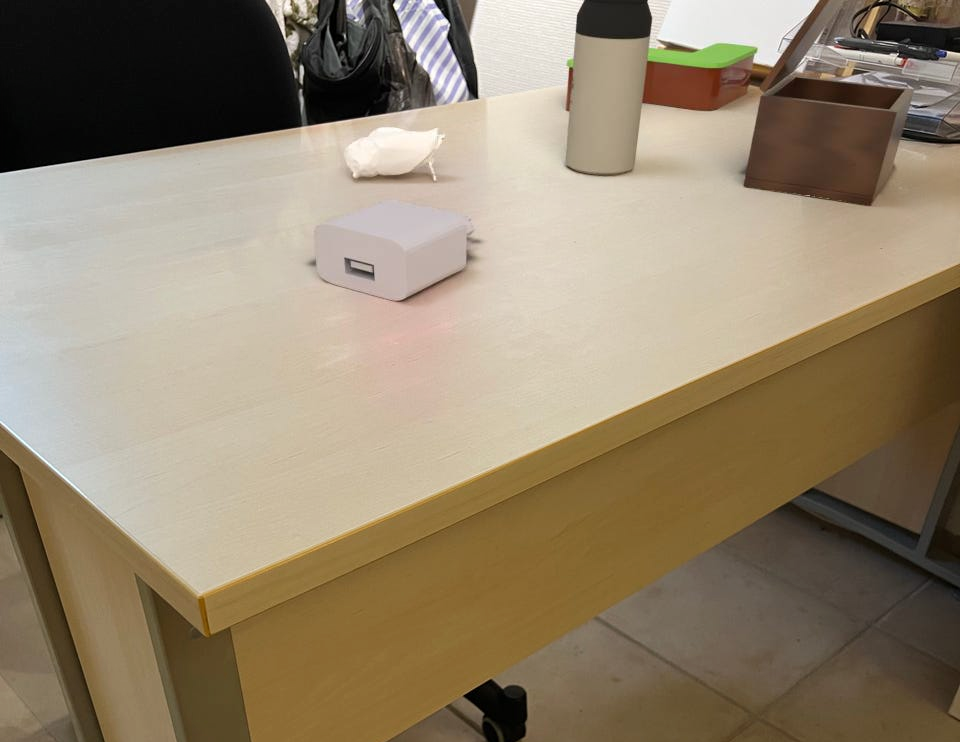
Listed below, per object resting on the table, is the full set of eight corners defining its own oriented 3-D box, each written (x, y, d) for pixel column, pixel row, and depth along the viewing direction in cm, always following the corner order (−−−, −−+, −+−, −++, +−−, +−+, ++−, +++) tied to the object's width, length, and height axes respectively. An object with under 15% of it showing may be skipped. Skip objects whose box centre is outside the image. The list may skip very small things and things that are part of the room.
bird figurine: (426, 181, 107) (339, 160, 104) (442, 120, 102) (351, 95, 99) (431, 202, 104) (342, 181, 101) (448, 140, 99) (355, 116, 96)
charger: (503, 254, 85) (406, 304, 76) (420, 234, 89) (317, 280, 79) (506, 198, 82) (404, 243, 72) (419, 180, 86) (312, 220, 76)
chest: (889, 176, 110) (914, 89, 104) (870, 206, 100) (897, 112, 94) (771, 159, 114) (789, 74, 108) (743, 186, 105) (760, 95, 99)
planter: (683, 128, 125) (691, 77, 121) (560, 110, 132) (564, 61, 128) (751, 91, 145) (760, 47, 141) (641, 77, 152) (646, 34, 148)
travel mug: (645, 166, 110) (669, -22, 98) (613, 180, 105) (635, -16, 93) (586, 154, 113) (602, -28, 102) (552, 168, 108) (565, -23, 97)
